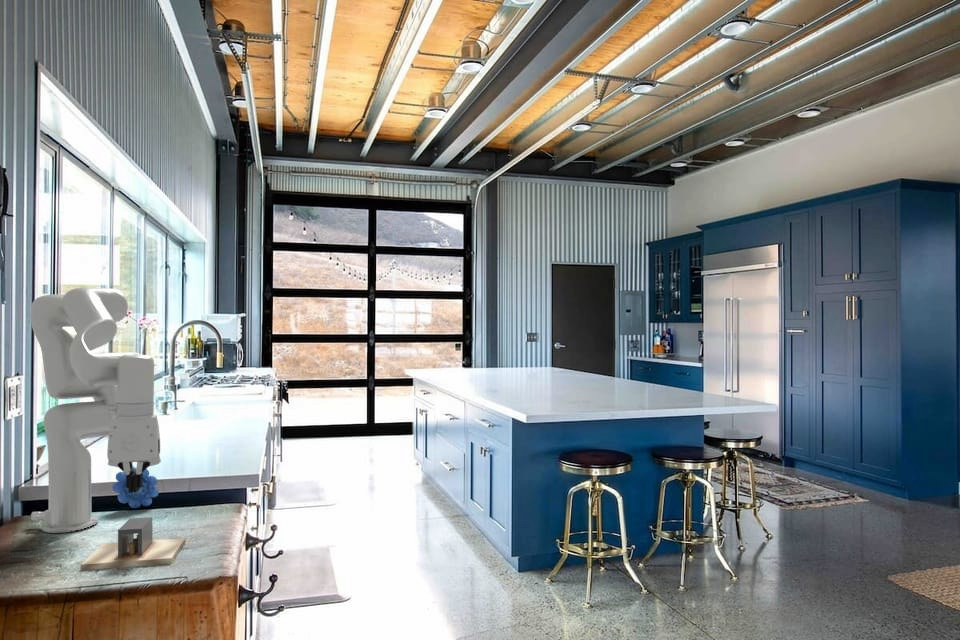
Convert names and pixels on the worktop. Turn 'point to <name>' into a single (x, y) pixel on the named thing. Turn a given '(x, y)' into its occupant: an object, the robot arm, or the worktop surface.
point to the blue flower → (138, 497)
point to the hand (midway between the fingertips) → (134, 490)
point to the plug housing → (133, 527)
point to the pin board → (134, 554)
